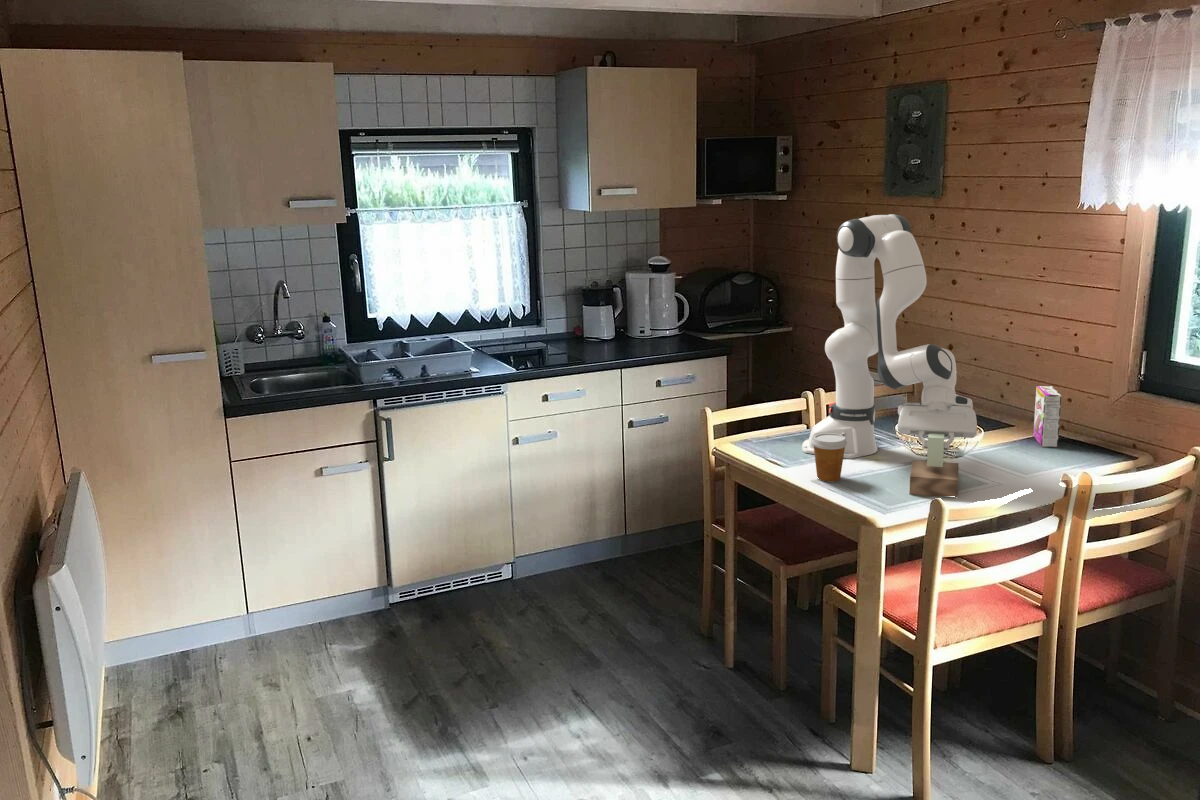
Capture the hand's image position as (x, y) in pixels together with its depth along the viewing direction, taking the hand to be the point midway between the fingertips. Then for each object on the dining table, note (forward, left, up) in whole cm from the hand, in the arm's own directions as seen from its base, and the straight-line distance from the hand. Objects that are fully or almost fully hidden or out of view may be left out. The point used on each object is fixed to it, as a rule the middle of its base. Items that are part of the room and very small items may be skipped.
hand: (935, 448), depth 253 cm
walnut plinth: (0, +1, -11) cm, 11 cm away
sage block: (0, +1, -5) cm, 5 cm away
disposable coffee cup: (-28, +2, -11) cm, 30 cm away
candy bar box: (+31, +50, -11) cm, 60 cm away
